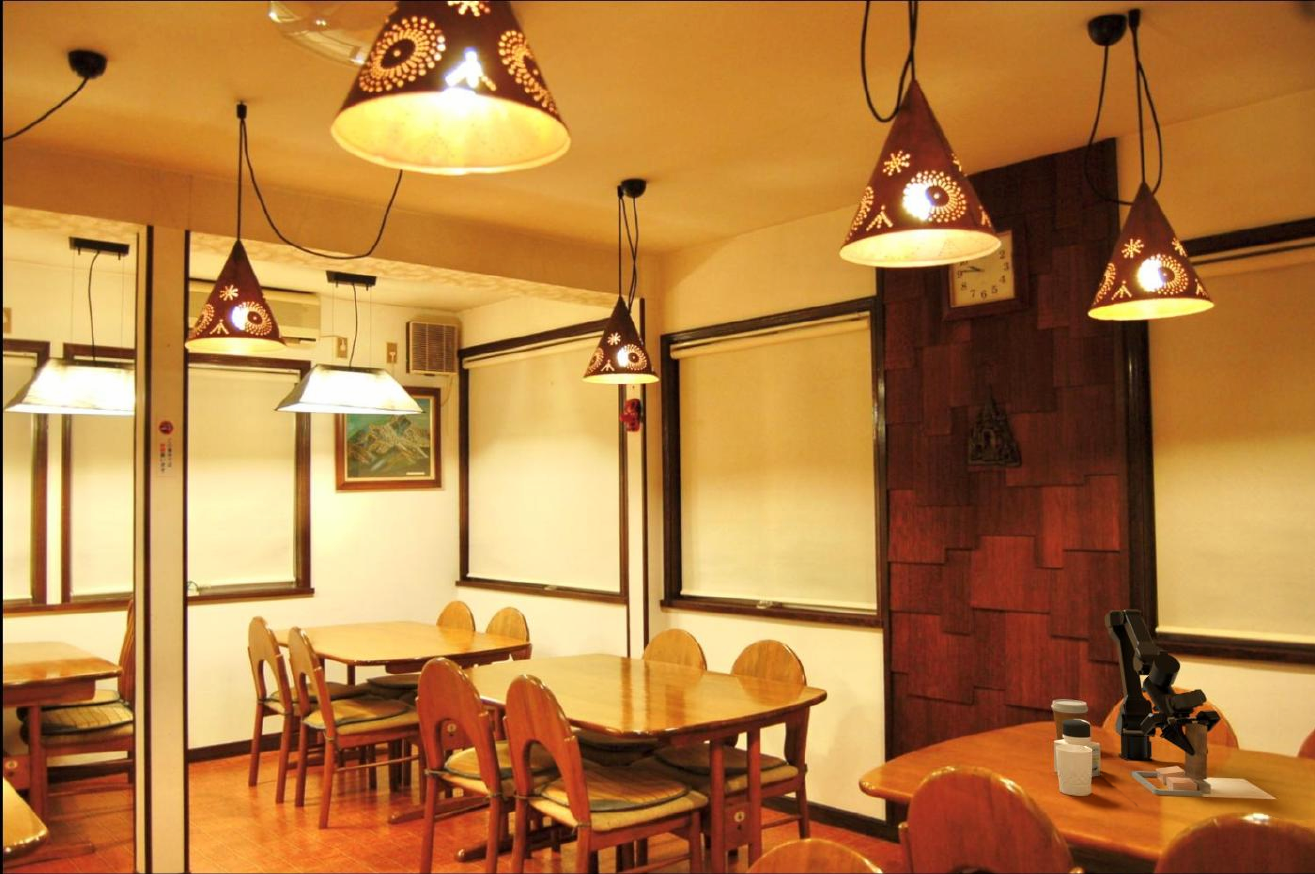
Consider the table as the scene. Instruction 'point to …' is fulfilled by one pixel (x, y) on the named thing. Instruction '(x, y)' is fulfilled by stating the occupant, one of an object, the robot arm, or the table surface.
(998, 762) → the table surface
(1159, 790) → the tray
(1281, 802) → the table surface
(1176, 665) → the robot arm
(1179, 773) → the tile
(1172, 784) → the tile
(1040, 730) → the table surface
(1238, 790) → the board
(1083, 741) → the container
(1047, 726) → the table surface
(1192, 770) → the upright brown post
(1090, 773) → the white cup
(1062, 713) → the disposable coffee cup
